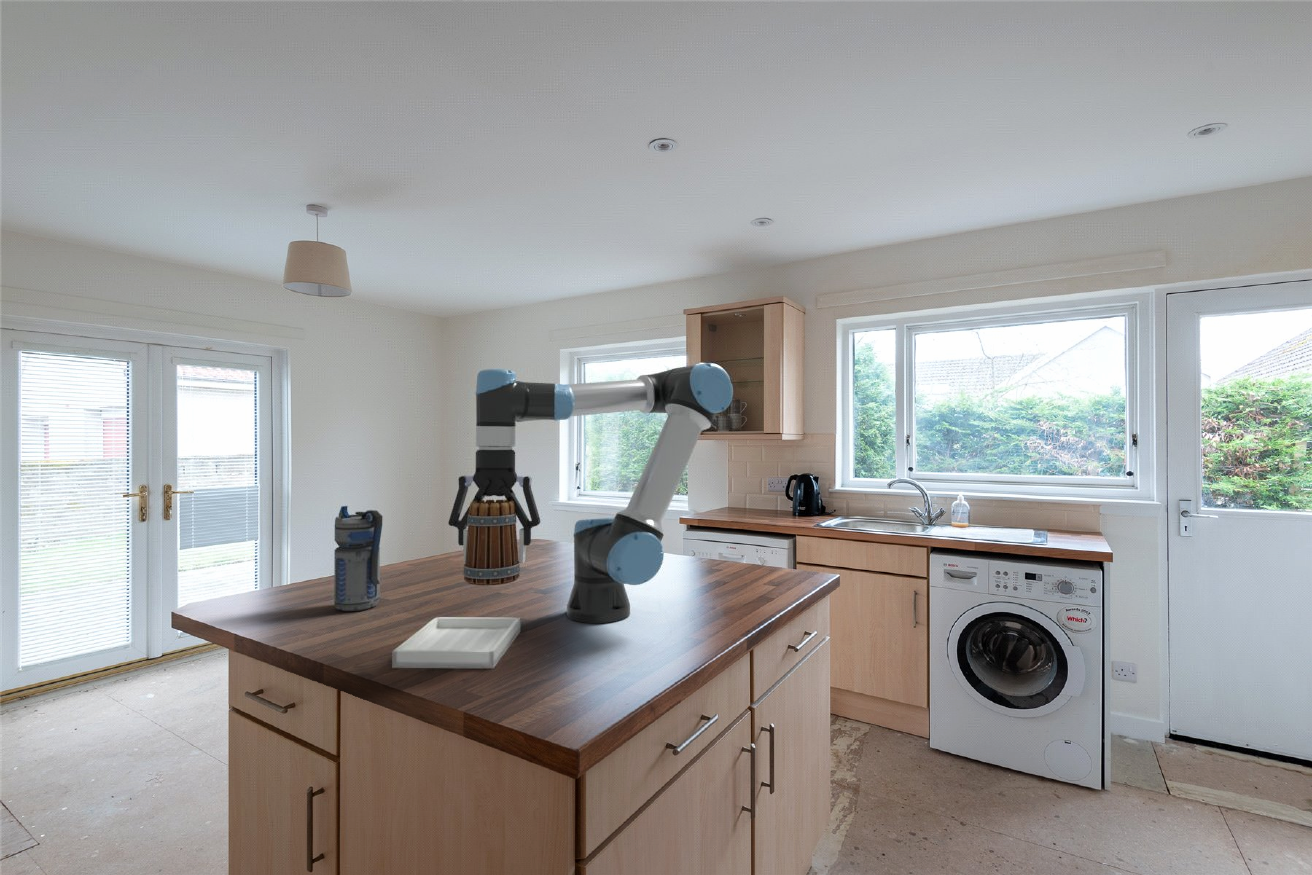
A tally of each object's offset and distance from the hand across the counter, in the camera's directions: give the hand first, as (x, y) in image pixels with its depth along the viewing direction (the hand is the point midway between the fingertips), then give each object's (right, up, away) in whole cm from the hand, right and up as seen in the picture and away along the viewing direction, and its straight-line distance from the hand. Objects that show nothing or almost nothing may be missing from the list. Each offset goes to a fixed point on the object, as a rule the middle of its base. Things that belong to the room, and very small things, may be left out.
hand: (494, 562), depth 120 cm
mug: (+1, -3, 0) cm, 3 cm away
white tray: (-7, -18, +3) cm, 20 cm away
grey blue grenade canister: (-42, -18, +32) cm, 56 cm away
